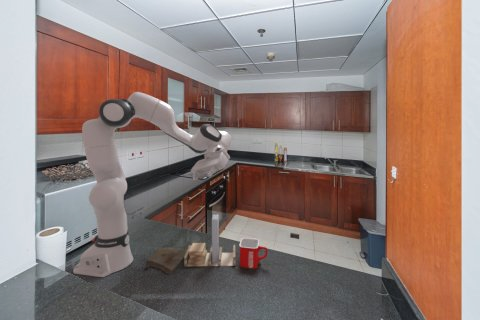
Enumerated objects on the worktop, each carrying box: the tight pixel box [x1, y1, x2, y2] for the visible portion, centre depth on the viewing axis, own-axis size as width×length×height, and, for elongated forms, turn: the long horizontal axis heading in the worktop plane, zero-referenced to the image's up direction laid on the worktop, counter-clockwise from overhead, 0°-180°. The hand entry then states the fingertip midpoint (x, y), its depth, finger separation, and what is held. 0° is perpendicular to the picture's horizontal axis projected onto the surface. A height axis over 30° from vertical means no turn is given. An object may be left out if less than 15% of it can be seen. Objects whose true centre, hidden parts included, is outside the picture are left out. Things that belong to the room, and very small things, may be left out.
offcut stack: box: [188, 242, 208, 265], centre depth 93 cm, size 7×8×6 cm
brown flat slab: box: [145, 246, 187, 276], centre depth 92 cm, size 17×15×4 cm
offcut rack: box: [183, 244, 236, 267], centre depth 94 cm, size 22×10×6 cm, turn 92°
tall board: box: [211, 214, 220, 263], centre depth 93 cm, size 2×6×20 cm, turn 2°
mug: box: [239, 237, 268, 269], centre depth 91 cm, size 12×8×11 cm
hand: (201, 177), depth 91 cm, fingers open, 8 cm apart
